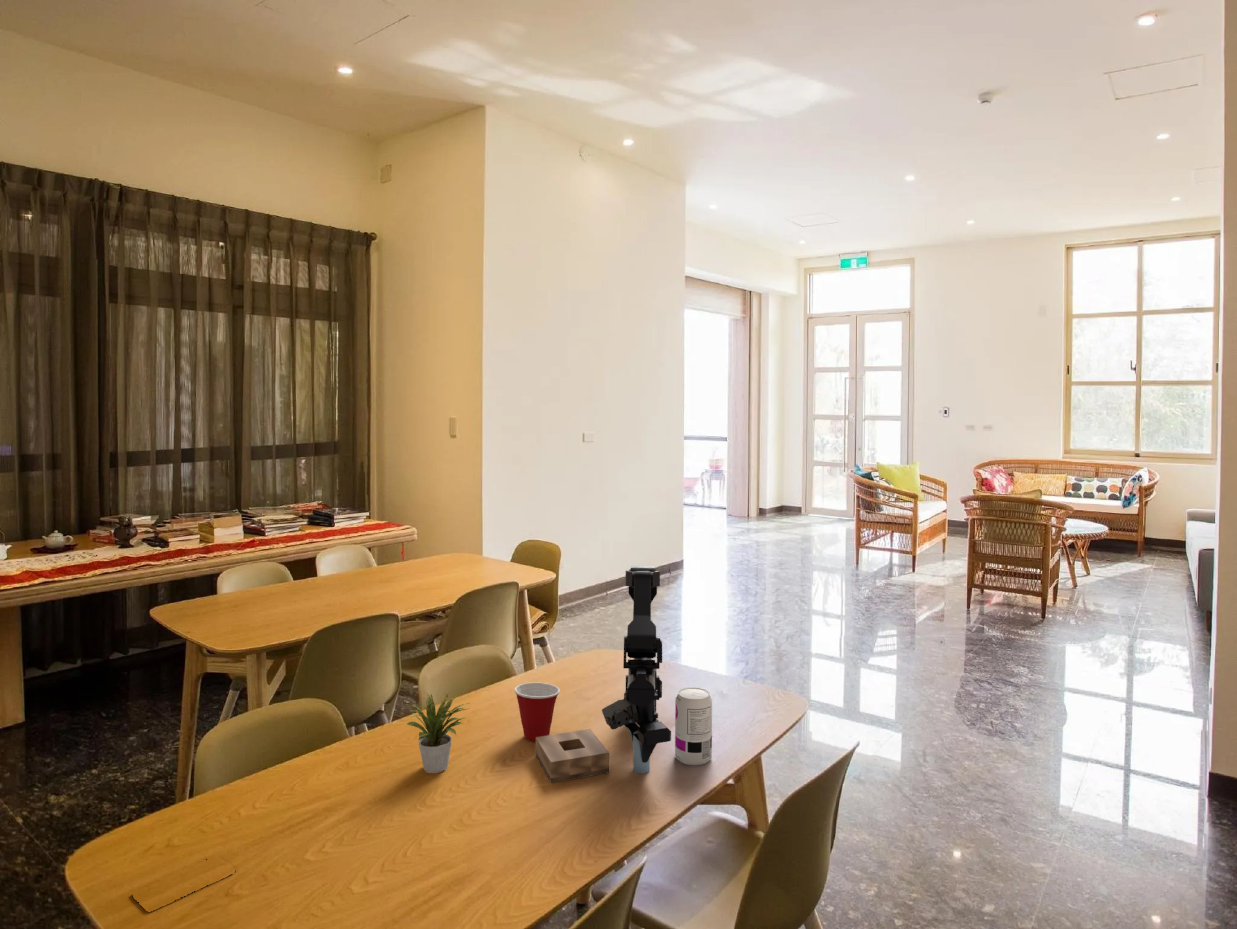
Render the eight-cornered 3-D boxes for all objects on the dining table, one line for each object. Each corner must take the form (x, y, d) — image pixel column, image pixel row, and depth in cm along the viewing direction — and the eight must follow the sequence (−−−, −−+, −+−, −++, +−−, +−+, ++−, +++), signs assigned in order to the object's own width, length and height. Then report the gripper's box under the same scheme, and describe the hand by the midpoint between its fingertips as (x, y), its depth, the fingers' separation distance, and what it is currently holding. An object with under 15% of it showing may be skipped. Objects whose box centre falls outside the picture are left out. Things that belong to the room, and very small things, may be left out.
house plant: (452, 789, 160) (450, 712, 159) (390, 782, 163) (388, 707, 162) (478, 758, 174) (477, 687, 173) (420, 752, 177) (419, 683, 175)
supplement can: (669, 761, 173) (669, 696, 171) (683, 747, 180) (684, 684, 179) (703, 769, 169) (704, 702, 168) (716, 754, 176) (717, 690, 175)
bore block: (590, 747, 180) (590, 728, 179) (609, 772, 167) (609, 752, 167) (535, 756, 175) (535, 737, 175) (551, 782, 163) (551, 762, 163)
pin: (645, 764, 171) (645, 729, 171) (652, 771, 168) (652, 735, 167) (630, 767, 170) (630, 731, 169) (636, 774, 167) (636, 738, 166)
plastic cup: (569, 738, 185) (568, 688, 184) (530, 750, 178) (529, 699, 177) (544, 723, 193) (543, 676, 192) (506, 735, 186) (505, 686, 185)
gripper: (592, 678, 173) (592, 746, 175) (621, 709, 156) (621, 784, 157) (638, 672, 177) (638, 738, 179) (672, 702, 160) (672, 775, 161)
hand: (641, 758), depth 169 cm, fingers closed on pin, 4 cm apart
